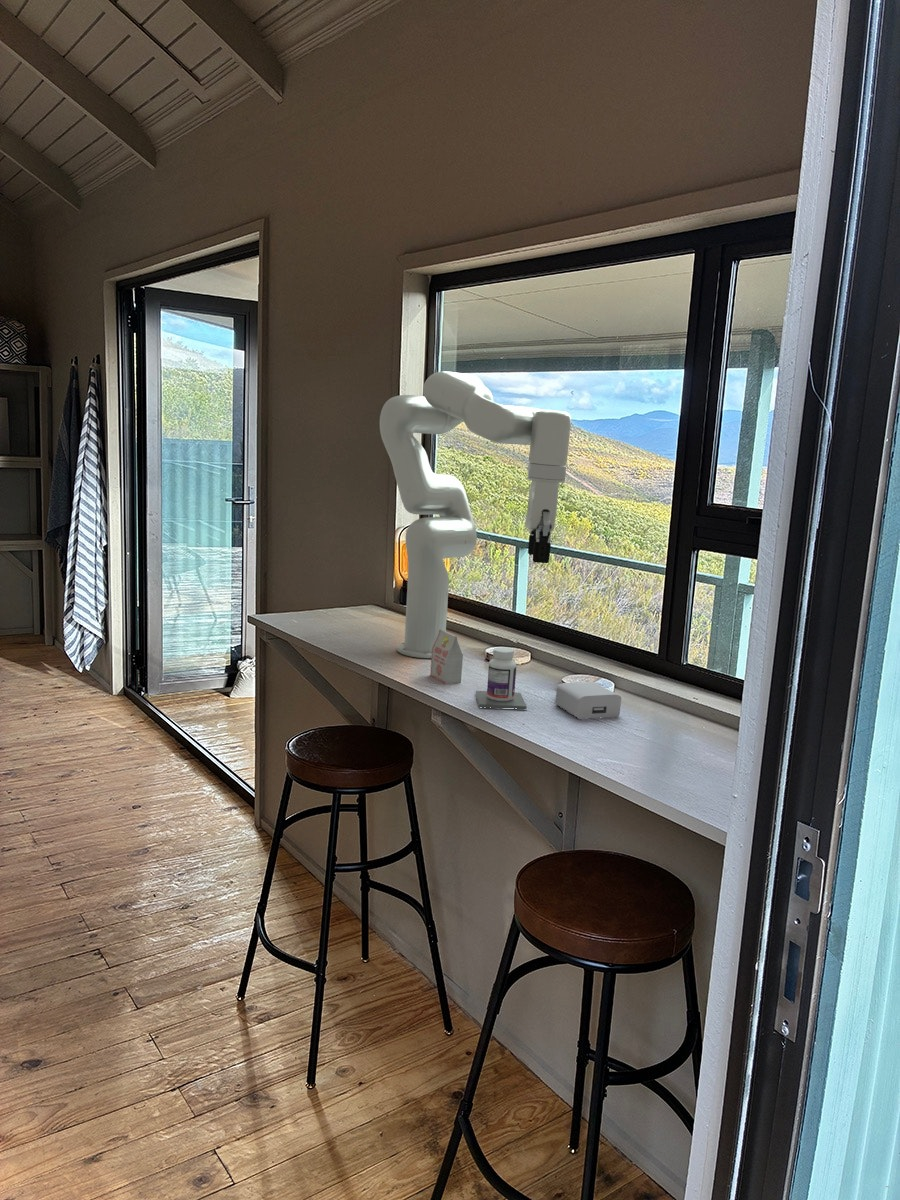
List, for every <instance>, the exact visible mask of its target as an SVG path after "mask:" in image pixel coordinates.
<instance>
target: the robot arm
mask: <svg viewBox="0 0 900 1200" xmlns="http://www.w3.org/2000/svg"><path fill="white" fill-rule="evenodd" d="M422 388H423V390H422V391H423V395H415V394H403V395H400V394H399V395H396V396H393V397H390V398H389V399H388V400H387V401H385V403H384V404H383V406H382V408H381V411H380V414H379V432H380V433H379V434H380V436H381V440H382V443H383V446H384V447H385V450H386V452H387V454H388V456H389V459H390V462H391V465H392V469H393V474H394V477H395V481H396V485H397V487H398V488H397V489H398V492H399V495H400V499H401V503H402V505H403V507H404V509H405V511H406V512H407V513H409V514H412V515H438V516H428V517H427V516H426V517H421V518H418V519H415V520H414V521H413V522H411V523H410V525H408V527H407V529H406V531H405V548H406V555H407V556H406V557H407V587H406V588H407V591H406V605H405V606H406V607H405V626H404V641H403V642H402V643H399V644H398V645H397V652H399V654H401V655H402V656H403V655H404V656H407V657H412V658H420V659H431V657H432V648H433V645H434V643H435V641H436V639H437V637H438V634H439V631H440V630H444V631H446V632H447V618H448V616H447V615H448V604H449V603H448V602H449V601H448V600H449V599H448V598H449V587H450V586H449V583H450V578H449V573H448V570H447V568H446V565H445V562H444V560H445V559H449V558H450V559H451V558H463V557H467V556H469V555H470V554H472V553H473V551H474V550H475V548H476V546H477V539H478V538H477V536H478V535H477V529H476V528H477V527H476V525H475V521H474V517H473V514H472V511H471V507H470V503H469V499H468V495H467V493H466V490H465V487H464V485H463V483H462V482H461V481H460V480H459V478H458V477H456V476H454V475H452V474H449V473H448V474H447V473H436V472H434V471H433V470H432V467H431V465H430V460H429V457H428V454H427V451H426V449H425V448H424V447H423V445H422V444H421V443H420V441H419V440H418V439H417V438H416V437H415V435H414V434H424V435H425V434H427V435H428V434H430V435H442V434H447V433H448V432H450V431H452V430H453V429H455V428H456V427H458V425H461V423H463V422H464V424H465V427H466V428H467V430H469V431H470V433H473V434H474V435H476V436H479V437H481V438H483V439H485V440H487V441H490V442H492V443H496V444H506V445H507V444H508V445H520V446H529V454H528V464H527V475H526V479H527V480H528V481H530V482H531V483H530V488H529V493H528V502H527V509H526V510H527V512H526V517H525V526H526V527H527V528H528V530H529V532H530V534H529V537H528V545H527V546H528V547H527V548H528V549H527V554H528V555H532V562H533V563H539V564H540V563H541V564H549V563H550V557H551V548H552V547H551V546H552V543H551V541H552V540H551V539H552V538H551V537H552V535H551V534H552V532H553V531H554V529H555V525H556V518H557V517H556V516H557V508H558V499H559V487H560V484H561V483H562V484H563V483H565V482H566V473H567V466H568V465H567V462H568V455H569V453H568V452H569V445H570V444H569V443H570V437H571V436H570V434H571V427H572V425H571V424H572V416H571V415H570V413H568V412H567V411H564V410H553V409H541V408H536V407H526V406H519V405H517V406H516V405H505V404H500V403H497V402H496V401H494V398H493V394H492V392H491V390H490V389H489V388H488V387H486V386H485V385H484V383H483V381H482V380H481V379H480V377H478V376H476V375H474V374H470V373H463V372H454V371H445V370H443V371H437V372H434V373H433V374H431V375H429V376H428V378H427V379H426V380H425V381H424V383H423V387H422ZM443 559H444V560H443Z"/></svg>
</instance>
